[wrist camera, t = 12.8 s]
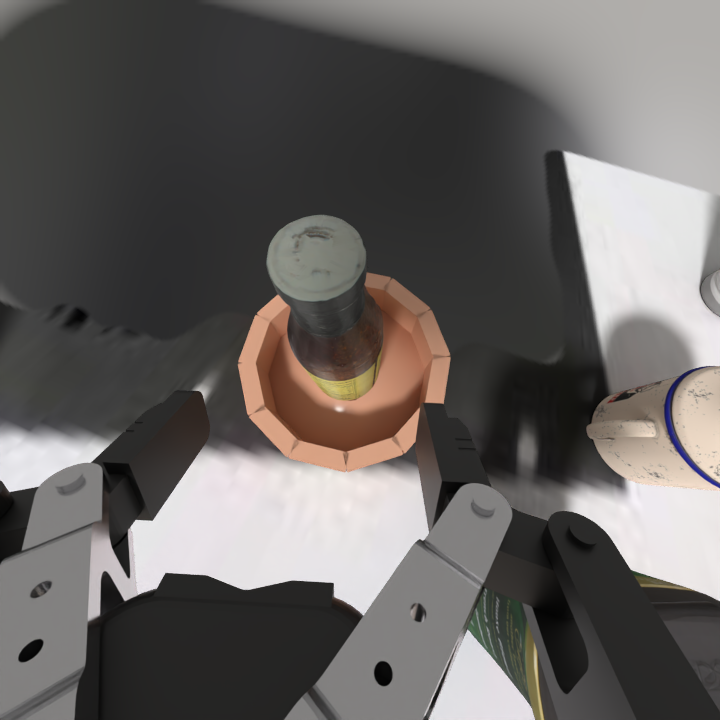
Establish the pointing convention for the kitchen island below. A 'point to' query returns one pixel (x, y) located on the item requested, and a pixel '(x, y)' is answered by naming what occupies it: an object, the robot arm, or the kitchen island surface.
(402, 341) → the terracotta bowl
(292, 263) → the sauce bottle
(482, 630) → the coffee jar
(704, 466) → the teacup with lid
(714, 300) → the travel mug
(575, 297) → the kitchen island surface
